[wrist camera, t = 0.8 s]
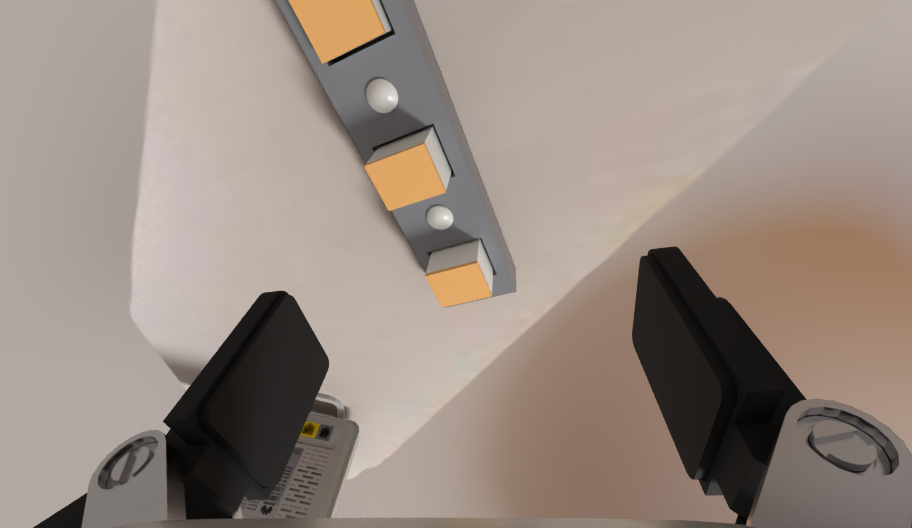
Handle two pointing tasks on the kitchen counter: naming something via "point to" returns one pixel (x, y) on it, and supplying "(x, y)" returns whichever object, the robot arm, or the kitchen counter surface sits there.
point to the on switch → (341, 24)
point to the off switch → (460, 273)
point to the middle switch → (410, 169)
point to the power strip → (404, 112)
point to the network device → (312, 469)
